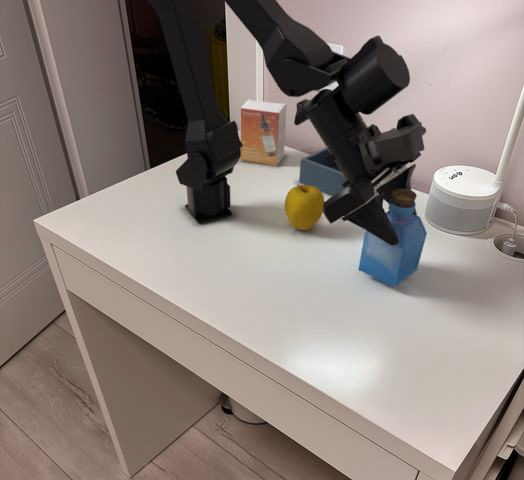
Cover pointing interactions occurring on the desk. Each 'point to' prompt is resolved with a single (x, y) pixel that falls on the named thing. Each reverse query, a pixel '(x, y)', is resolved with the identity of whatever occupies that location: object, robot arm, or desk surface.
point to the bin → (321, 172)
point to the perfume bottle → (404, 252)
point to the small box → (262, 132)
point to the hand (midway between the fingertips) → (405, 233)
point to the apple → (304, 206)
